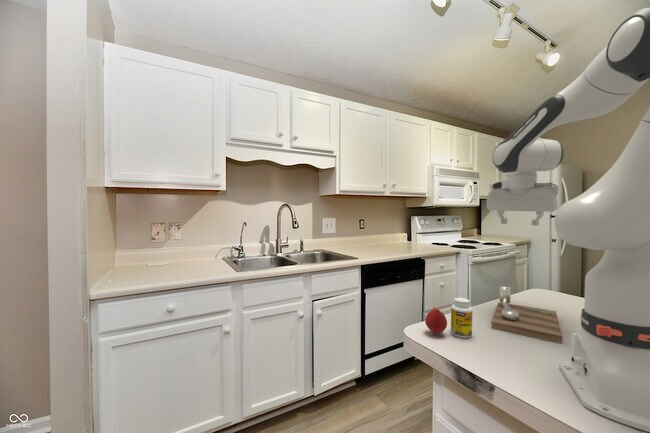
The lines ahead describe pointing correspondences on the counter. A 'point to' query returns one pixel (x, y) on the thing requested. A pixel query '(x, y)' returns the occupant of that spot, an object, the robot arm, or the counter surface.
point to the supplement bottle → (461, 318)
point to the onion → (436, 321)
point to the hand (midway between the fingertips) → (518, 224)
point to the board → (529, 323)
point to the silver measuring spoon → (505, 300)
